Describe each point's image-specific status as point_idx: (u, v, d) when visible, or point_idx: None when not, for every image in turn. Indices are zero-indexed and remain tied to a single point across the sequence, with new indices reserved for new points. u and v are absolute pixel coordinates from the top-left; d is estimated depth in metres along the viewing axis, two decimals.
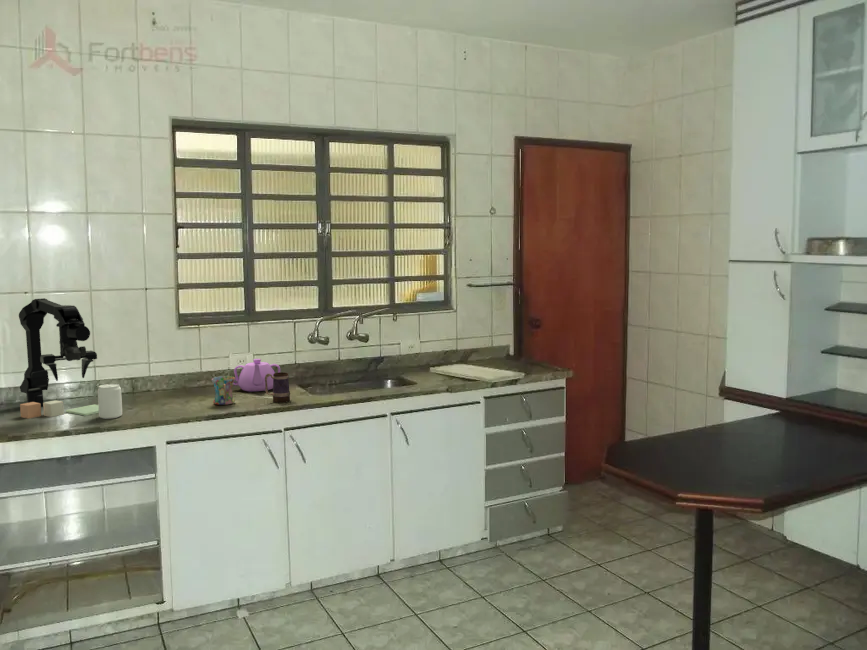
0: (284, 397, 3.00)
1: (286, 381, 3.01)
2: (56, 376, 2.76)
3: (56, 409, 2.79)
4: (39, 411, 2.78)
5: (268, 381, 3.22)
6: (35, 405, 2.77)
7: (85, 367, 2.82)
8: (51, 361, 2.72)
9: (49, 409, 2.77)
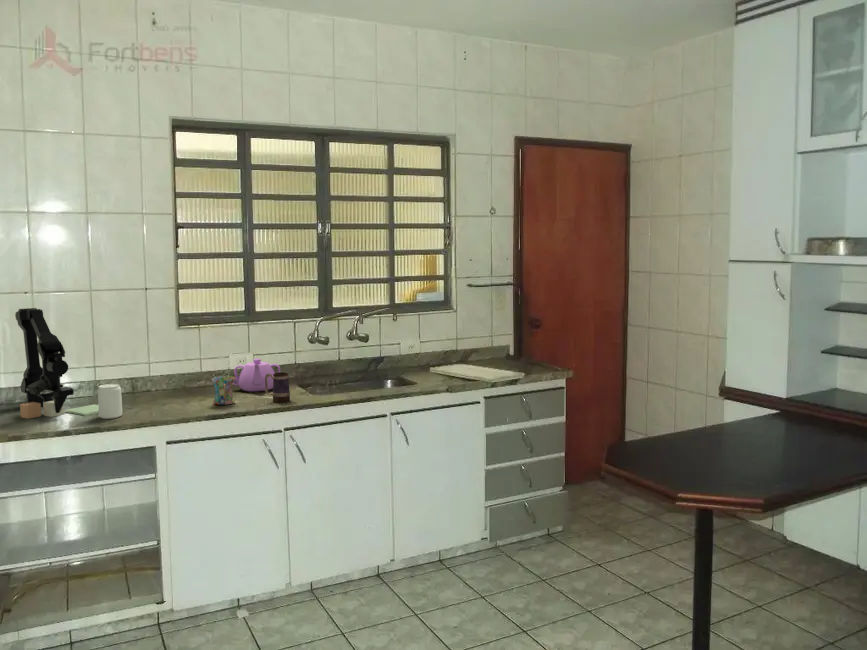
0: (284, 397, 3.00)
1: (286, 381, 3.01)
2: None
3: None
4: (39, 411, 2.78)
5: (268, 381, 3.22)
6: (35, 405, 2.77)
7: (54, 402, 2.77)
8: None
9: (49, 409, 2.77)
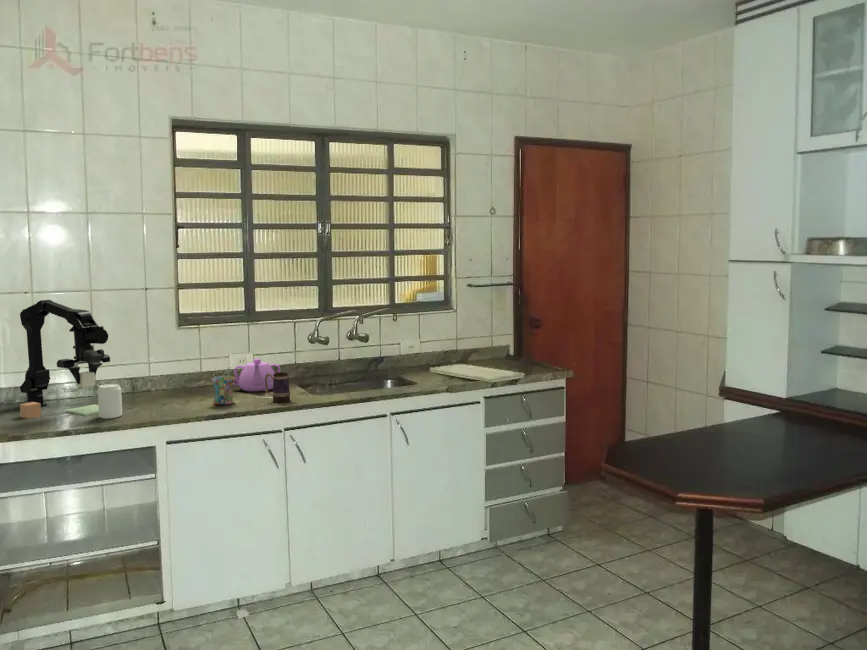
0: (284, 397, 3.00)
1: (286, 381, 3.01)
2: (78, 379, 2.82)
3: None
4: (39, 411, 2.78)
5: (268, 381, 3.22)
6: (35, 405, 2.77)
7: (94, 371, 2.86)
8: (71, 365, 2.77)
9: (92, 378, 2.84)
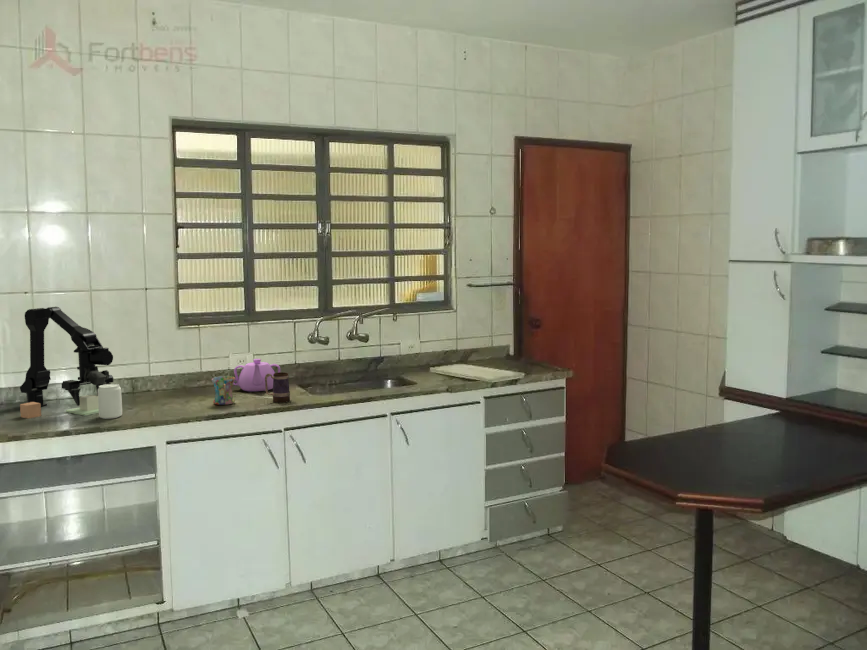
0: (284, 397, 3.00)
1: (286, 381, 3.01)
2: (78, 401, 2.82)
3: None
4: (39, 411, 2.78)
5: (268, 381, 3.22)
6: (35, 405, 2.77)
7: None
8: (76, 386, 2.78)
9: (96, 401, 2.86)
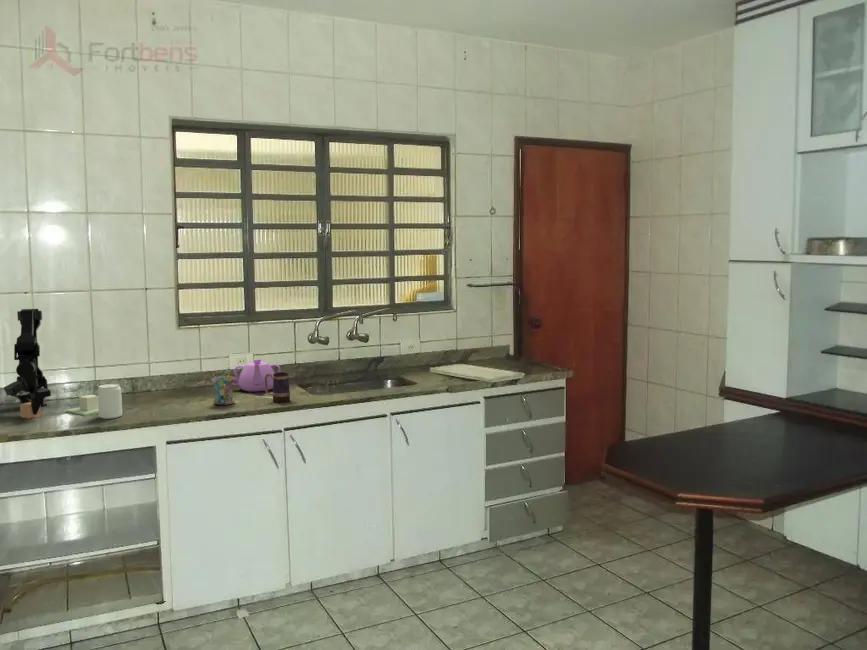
0: (284, 397, 3.00)
1: (286, 381, 3.01)
2: None
3: None
4: (39, 411, 2.78)
5: (268, 381, 3.22)
6: None
7: (31, 404, 2.75)
8: None
9: (96, 401, 2.86)
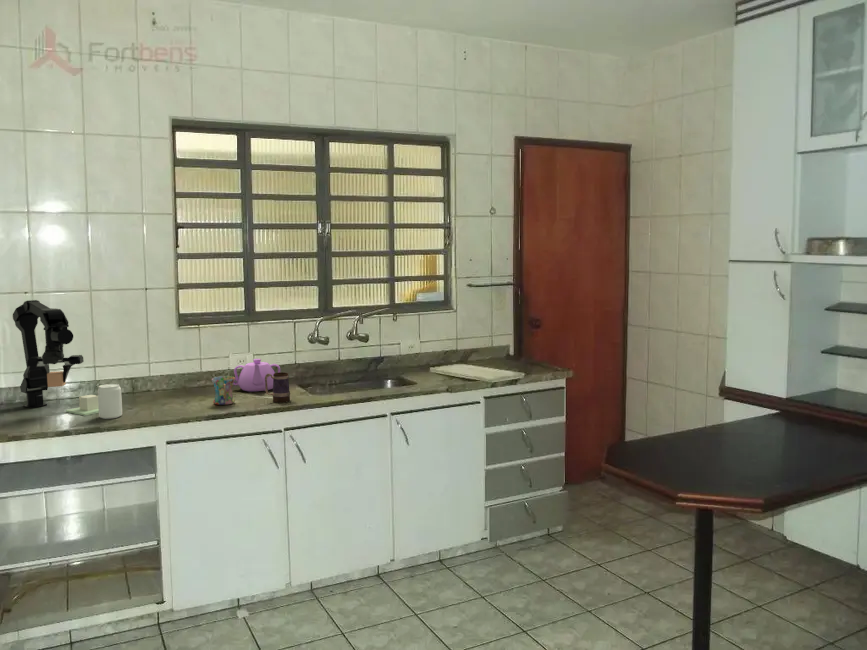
0: (284, 397, 3.00)
1: (286, 381, 3.01)
2: None
3: None
4: None
5: (268, 381, 3.22)
6: None
7: (64, 372, 2.80)
8: (33, 363, 2.75)
9: (96, 401, 2.86)
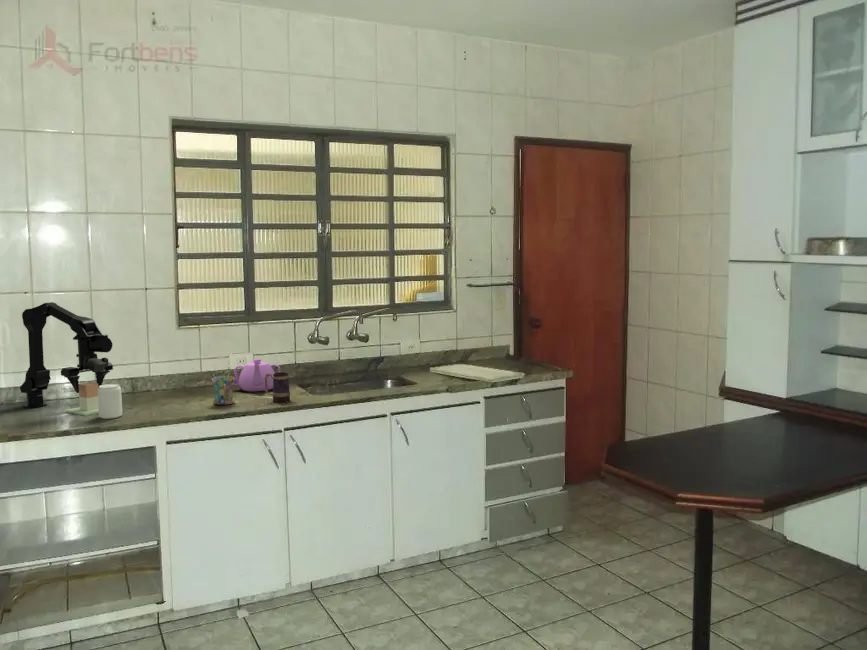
0: (284, 397, 3.00)
1: (286, 381, 3.01)
2: (77, 388, 2.81)
3: None
4: None
5: (268, 381, 3.22)
6: None
7: (102, 378, 2.89)
8: (75, 373, 2.78)
9: (96, 401, 2.86)
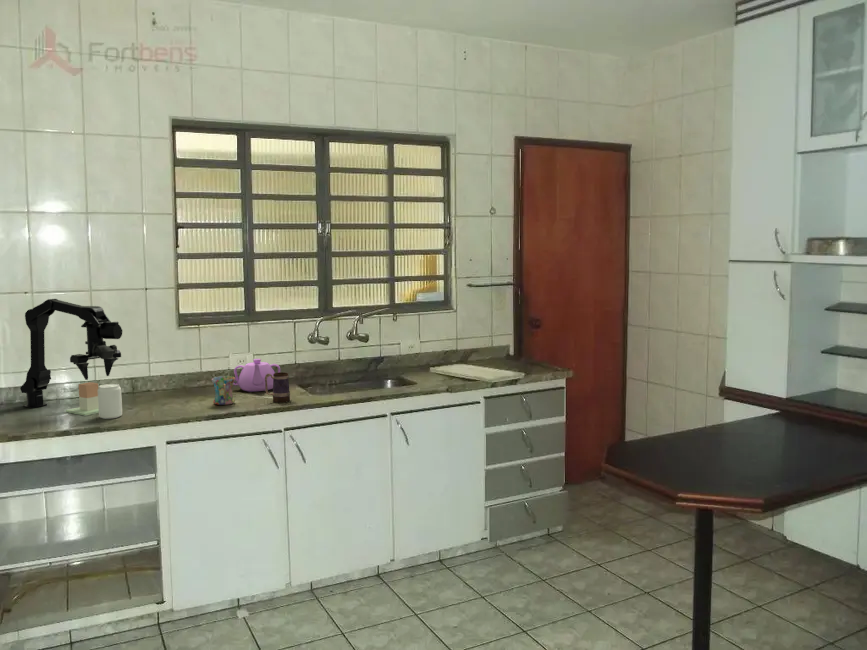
0: (284, 397, 3.00)
1: (286, 381, 3.01)
2: (86, 375, 2.84)
3: None
4: None
5: (268, 381, 3.22)
6: None
7: (110, 365, 2.92)
8: (85, 360, 2.81)
9: (96, 401, 2.86)
